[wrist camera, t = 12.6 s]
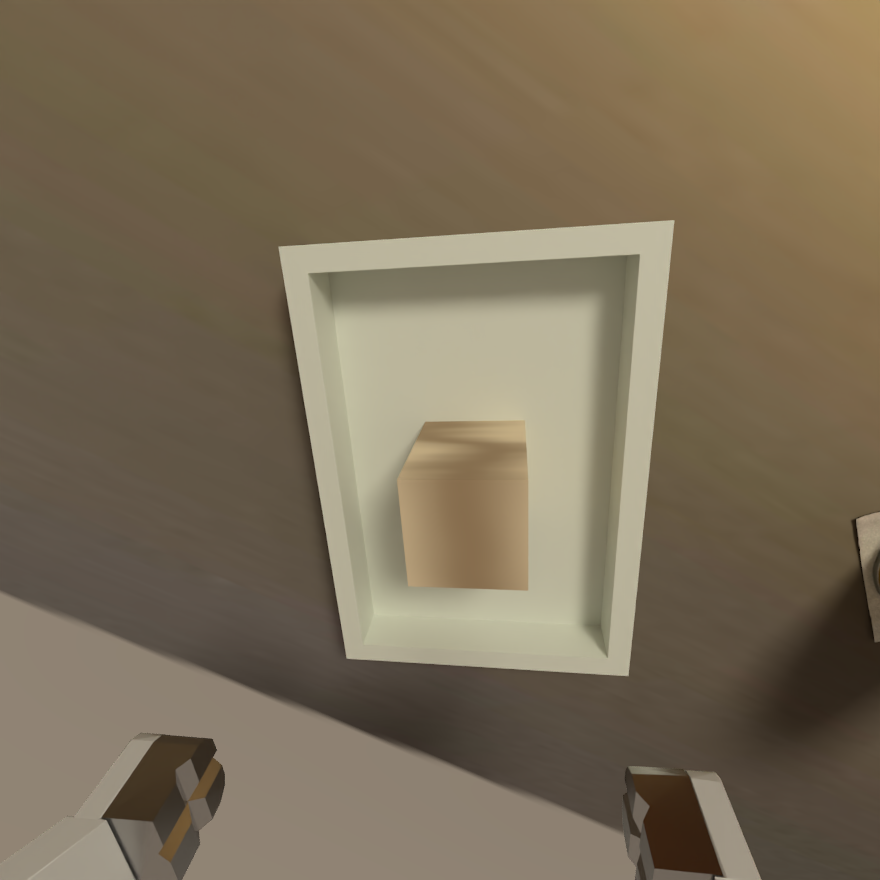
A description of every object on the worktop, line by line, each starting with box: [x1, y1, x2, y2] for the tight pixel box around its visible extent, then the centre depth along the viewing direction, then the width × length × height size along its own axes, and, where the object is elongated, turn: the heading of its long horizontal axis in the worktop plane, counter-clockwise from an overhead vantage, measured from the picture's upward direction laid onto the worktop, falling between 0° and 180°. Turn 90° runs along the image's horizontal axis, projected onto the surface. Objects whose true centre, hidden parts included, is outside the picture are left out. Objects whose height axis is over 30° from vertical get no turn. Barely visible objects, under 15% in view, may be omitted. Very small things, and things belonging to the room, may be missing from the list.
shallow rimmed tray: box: [279, 220, 674, 676], centre depth 23 cm, size 14×20×3 cm
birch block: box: [397, 420, 528, 591], centre depth 21 cm, size 4×4×6 cm
